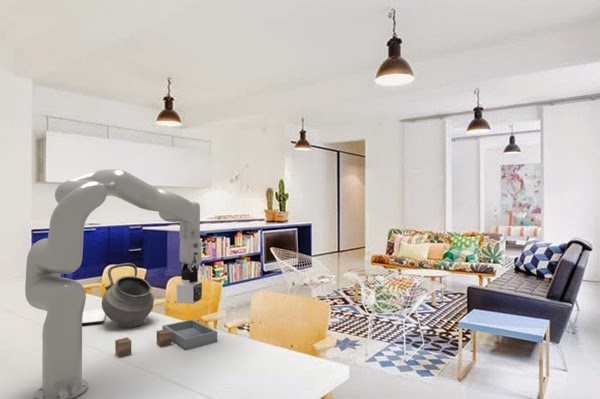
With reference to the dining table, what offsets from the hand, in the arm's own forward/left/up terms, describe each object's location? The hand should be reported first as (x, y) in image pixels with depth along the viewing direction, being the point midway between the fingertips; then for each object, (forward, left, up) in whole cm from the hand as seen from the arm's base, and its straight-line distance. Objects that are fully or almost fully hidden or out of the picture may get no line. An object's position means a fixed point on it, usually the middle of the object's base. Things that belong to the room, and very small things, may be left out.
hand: (189, 280), depth 155 cm
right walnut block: (0, +10, -23) cm, 25 cm away
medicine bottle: (0, 0, -8) cm, 8 cm away
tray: (0, 0, -22) cm, 22 cm away
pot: (+33, +12, -23) cm, 42 cm away
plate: (+51, +26, -23) cm, 62 cm away
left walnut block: (0, +24, -23) cm, 33 cm away
